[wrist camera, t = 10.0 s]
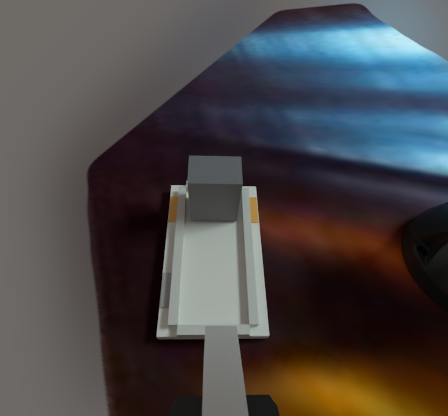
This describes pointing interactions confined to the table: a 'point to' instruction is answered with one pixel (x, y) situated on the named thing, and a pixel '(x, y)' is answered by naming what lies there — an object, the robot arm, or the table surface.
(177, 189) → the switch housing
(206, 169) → the switch tab
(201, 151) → the table surface
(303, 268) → the table surface
